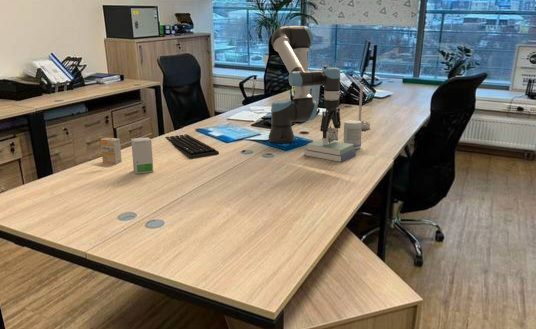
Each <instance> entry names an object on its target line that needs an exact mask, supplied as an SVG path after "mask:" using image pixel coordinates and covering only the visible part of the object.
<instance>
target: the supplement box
mask: <svg viewBox="0 0 536 329" xmlns="http://www.w3.org/2000/svg"><path fill="white" fill-rule="evenodd" d="M99 140H100V148H101V157H102V158H101V159H102V163H103V164H109V165H116V166H117V165H118V164H121V163H122V162H123V160H122V151H121V149H122V148H121V139H120V138H115V137H102V138H100V139H99Z"/></svg>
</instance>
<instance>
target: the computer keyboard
mask: <svg viewBox="0 0 536 329" xmlns="http://www.w3.org/2000/svg"><path fill="white" fill-rule="evenodd" d="M164 138H165V139H166V140H167V141H169V142H170V143H171V144H172V146H173V147H175V148H176V149H177V150H178V151H180V153H182V154H183V155H185V156H186V157H187V158H189V159H190V160H193V159H199V158H206V157H210V156H217V155H219V154H220V152H219V151H218V150H217V149H216V148H214V147H212V146H210V145H208V144H206V143H204V142H203V141H200V140H199V139H197V138H195V137H193V136H191V135H189V134H186V133H185V134H179V135H178V134H177V135H171V136H165V137H164Z"/></svg>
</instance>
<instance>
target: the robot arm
mask: <svg viewBox="0 0 536 329" xmlns="http://www.w3.org/2000/svg"><path fill="white" fill-rule="evenodd" d="M313 43H314V36H313V32H312V30H311V28H310V27H309V26H306V25H282V26H279V27H278V28H276V29H275V31H274V32H273V33H272V36H271V45H272V48H273V49H274V51H275V52H277V53H278V55H279V56H280V58H281V60H282V62H283V64H284V65H285V67H286V68H285V69H286V70H287V71H288V73H289V74H288V83H289V85H290V86H291V87H294V96H293V97H292V100H291V99H289V98H286V99H278V100H275V101H273V102H272V103H271V109H270V112H271V113H270V114H271V116H270V117H271V118H270V119H271V128H270V131H269V135H268V142H269V143H275V144H288V143H292V142H294V141H295V134H294V131H293V128H292V126H293V125H292V123H294V122H308V121H312V120H314V119H315V118H316V115H317V113H318V112H317V111H318V104H317V101H316V100H315V99H313V96H312V95H311V92H310V87H314V86H315V87H316V86H324V92H323V94H324V95H323V99H324V100H323V106H324V107H323V108H325V111H322V113H321V114H322V115H321V116H322V117H321V123H320V128H319V131H320V132H321V133H322V138H323V144H326V145H328V132H327V131H328V128H329V127H330V123H331V121H332V125H333V127H332V128H333V129H335V130H336V131H337V139H338V140H337V139H336V140H335V141H336V142H339V131H338V130H339V129H341V126H342V123H341V114H340V112H341V108H339V106H340V100H339V99H340V87H341V85H340V84H341V69H340V68H339V67H326V68H325V69H318V70H309V62H308V61H309V59H308V52H309V51H310V48H311V47H312V46H313Z"/></svg>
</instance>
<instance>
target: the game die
mask: <svg viewBox="0 0 536 329" xmlns="http://www.w3.org/2000/svg"><path fill="white" fill-rule="evenodd" d="M333 128H334V127H332V125H329V127H328V131H327V132H328V142H329V144H330V142H332V141H336V139H337V131H336V130H335V129H333ZM338 132H339V129H338ZM321 139H323V137H322V138H321ZM337 140H338V141H339V138H338V139H337Z"/></svg>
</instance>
